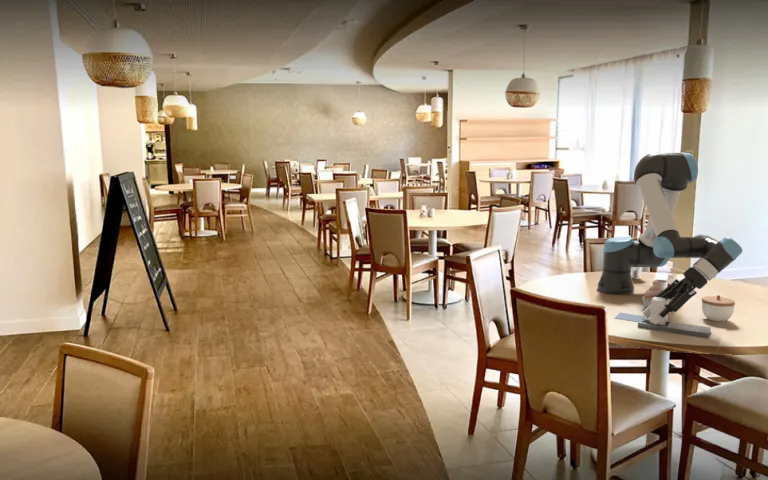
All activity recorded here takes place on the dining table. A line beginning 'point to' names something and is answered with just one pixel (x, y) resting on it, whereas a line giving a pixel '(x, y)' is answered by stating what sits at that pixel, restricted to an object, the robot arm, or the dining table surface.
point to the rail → (677, 328)
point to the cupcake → (650, 295)
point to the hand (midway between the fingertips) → (648, 318)
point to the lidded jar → (717, 308)
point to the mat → (629, 317)
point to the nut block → (656, 306)
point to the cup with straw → (636, 271)
